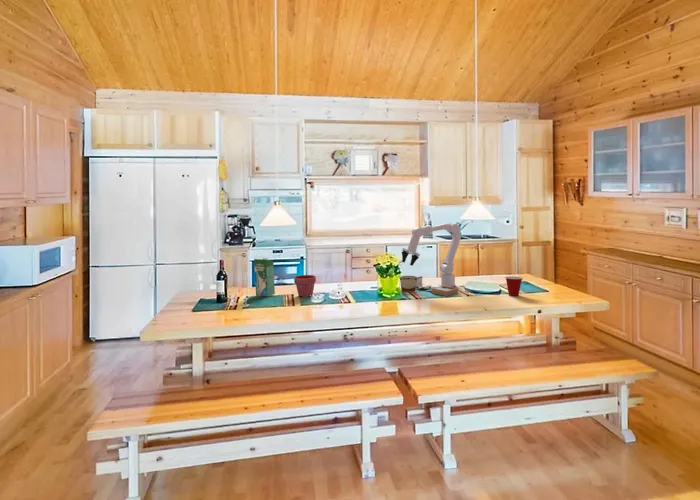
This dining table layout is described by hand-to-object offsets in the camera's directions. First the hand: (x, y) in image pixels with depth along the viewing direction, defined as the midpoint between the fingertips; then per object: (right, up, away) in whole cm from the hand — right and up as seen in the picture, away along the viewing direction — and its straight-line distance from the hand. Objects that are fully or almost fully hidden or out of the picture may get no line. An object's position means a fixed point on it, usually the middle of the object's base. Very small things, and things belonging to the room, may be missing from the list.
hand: (407, 263), depth 328 cm
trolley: (+11, -17, +1) cm, 21 cm away
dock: (+20, -19, -9) cm, 29 cm away
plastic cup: (+65, -20, -23) cm, 71 cm away
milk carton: (-96, -21, -6) cm, 98 cm away
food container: (0, -18, -4) cm, 19 cm away
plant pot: (-68, -21, -11) cm, 72 cm away
